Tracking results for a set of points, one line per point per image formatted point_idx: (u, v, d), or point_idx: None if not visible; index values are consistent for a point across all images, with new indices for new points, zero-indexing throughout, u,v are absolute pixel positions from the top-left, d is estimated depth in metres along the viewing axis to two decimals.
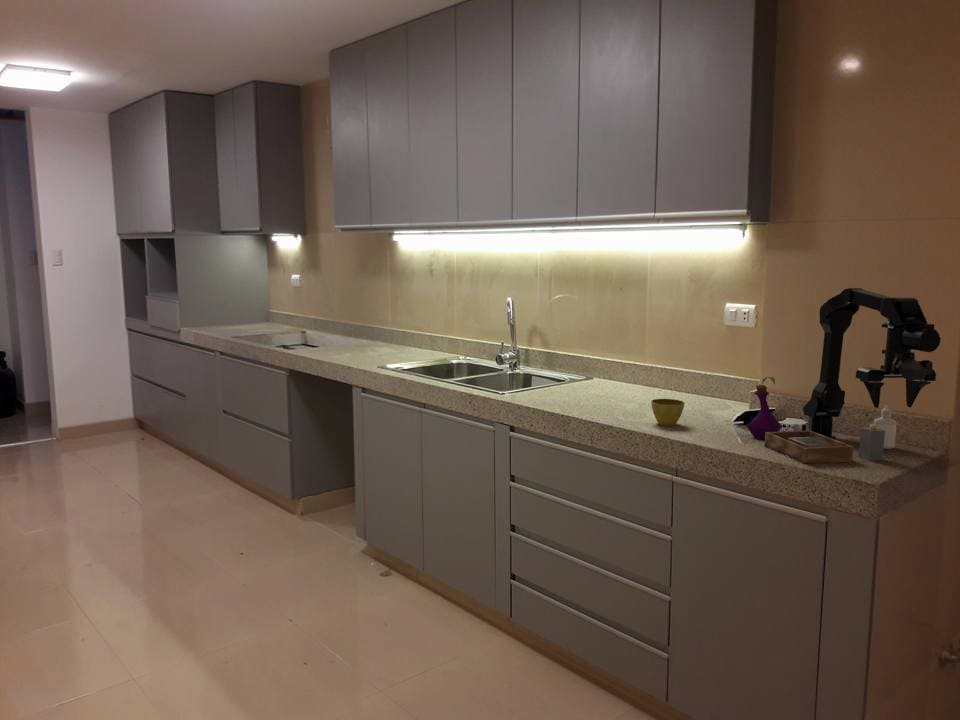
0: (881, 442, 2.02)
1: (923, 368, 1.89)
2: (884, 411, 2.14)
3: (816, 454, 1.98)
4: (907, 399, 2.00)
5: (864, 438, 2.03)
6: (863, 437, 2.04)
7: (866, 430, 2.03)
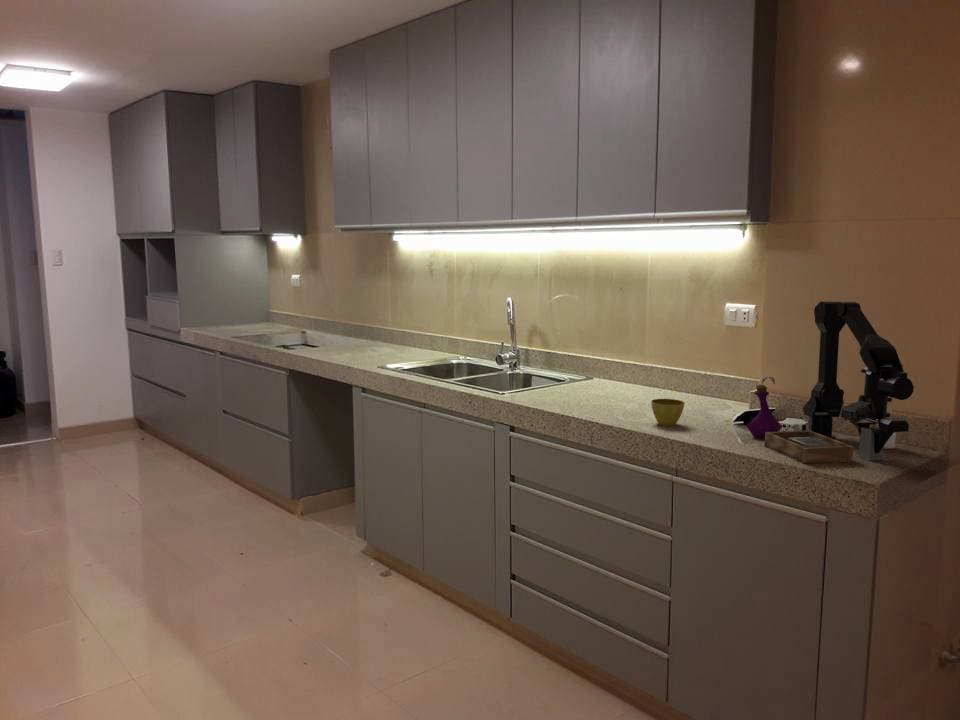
0: None
1: (851, 410, 1.99)
2: None
3: (816, 454, 1.98)
4: None
5: (864, 438, 2.03)
6: (863, 437, 2.04)
7: (866, 430, 2.03)
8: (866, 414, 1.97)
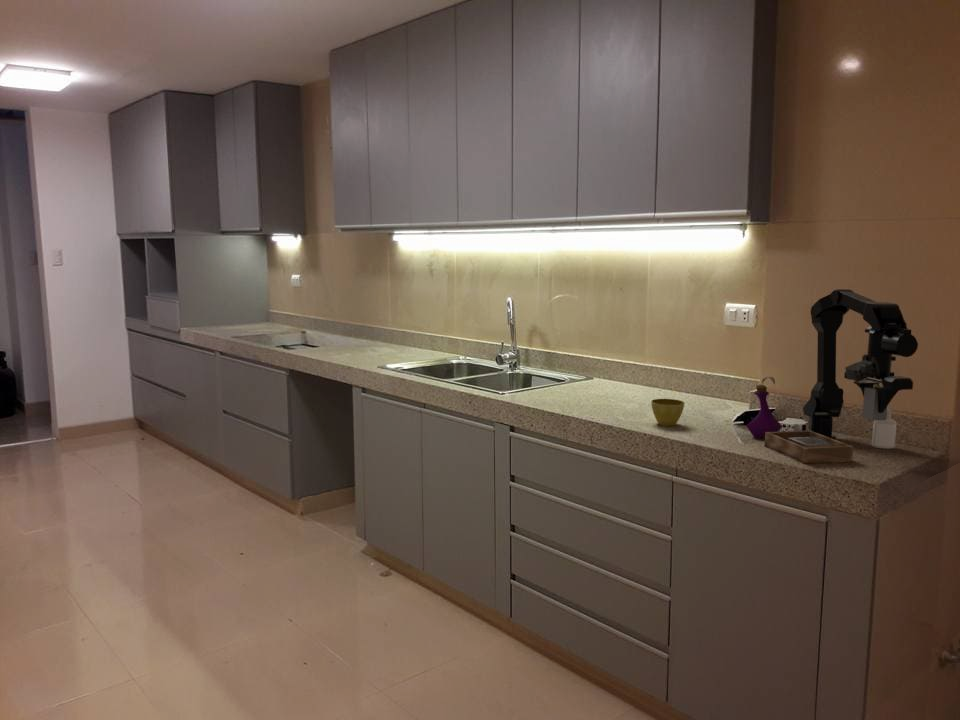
0: None
1: (854, 369, 1.98)
2: None
3: (816, 454, 1.98)
4: None
5: (868, 398, 2.02)
6: (866, 397, 2.02)
7: (870, 390, 2.01)
8: (870, 372, 1.95)
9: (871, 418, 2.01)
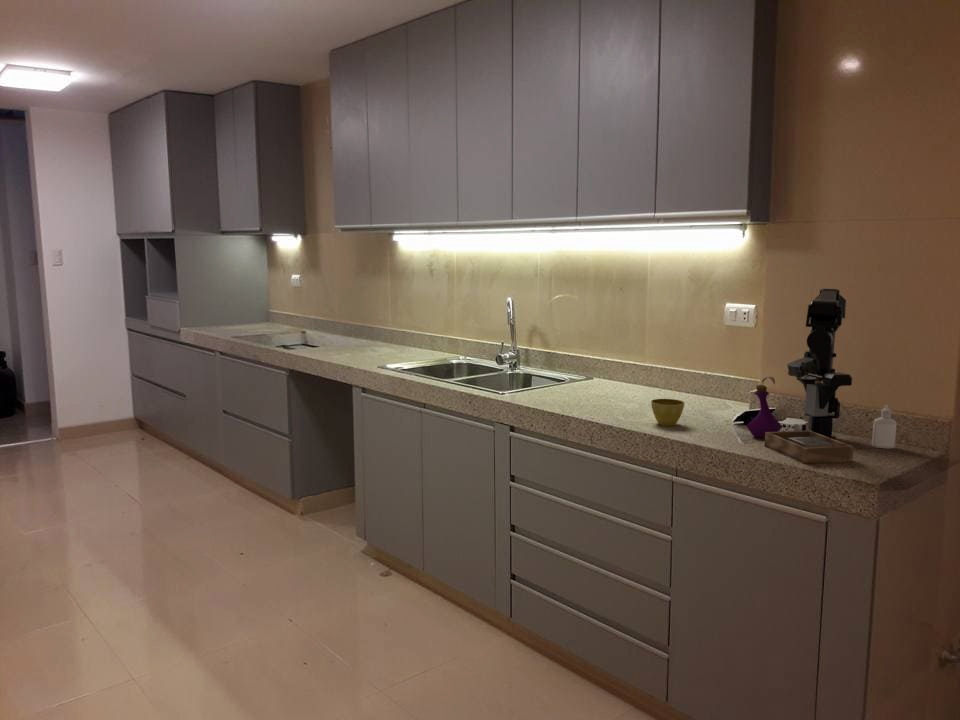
0: None
1: (795, 365, 2.00)
2: (884, 411, 2.14)
3: (816, 454, 1.98)
4: None
5: (810, 394, 2.04)
6: (808, 393, 2.05)
7: (811, 386, 2.04)
8: (810, 369, 1.98)
9: (813, 414, 2.03)
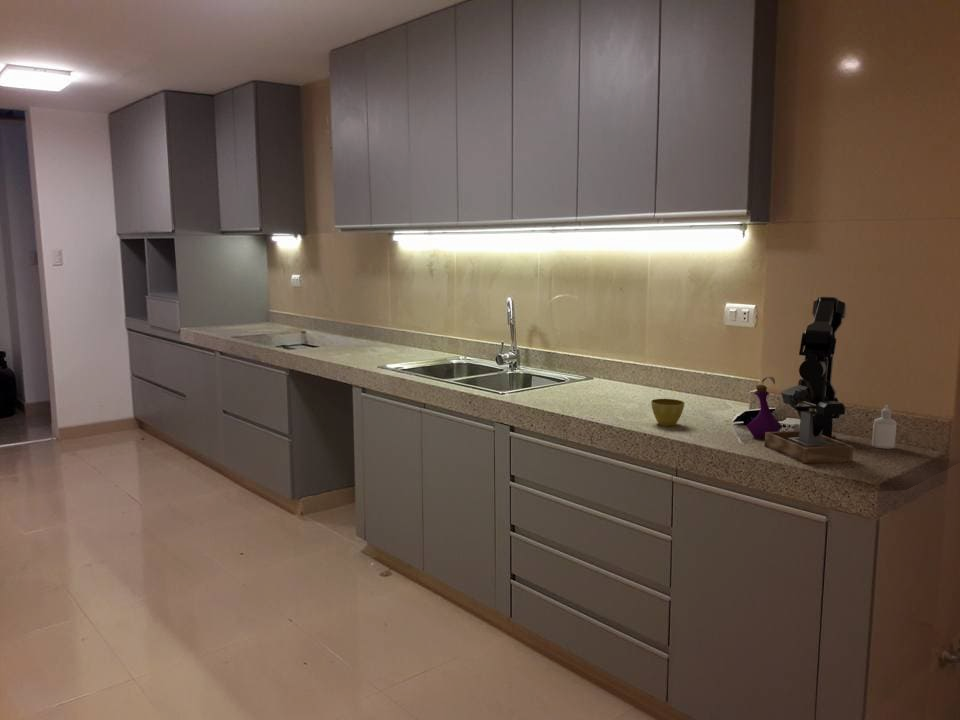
0: None
1: (789, 394, 2.02)
2: (884, 411, 2.14)
3: (816, 454, 1.98)
4: None
5: (804, 422, 2.06)
6: (802, 420, 2.06)
7: (805, 413, 2.05)
8: (804, 397, 1.99)
9: (806, 441, 2.05)
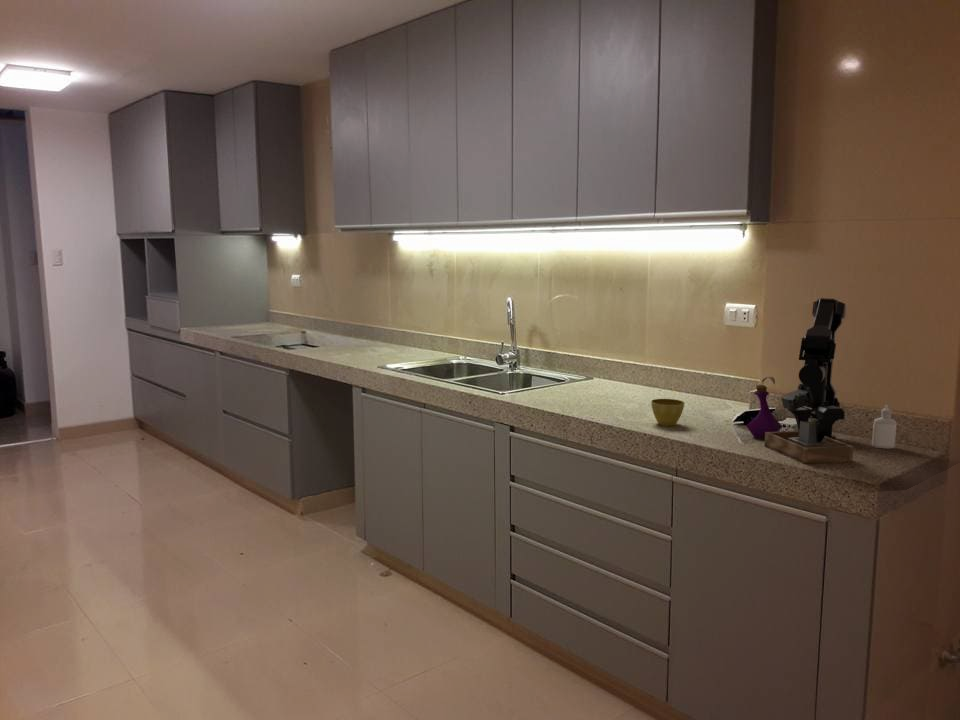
0: None
1: (789, 398, 2.02)
2: (884, 411, 2.14)
3: (816, 454, 1.98)
4: None
5: (803, 432, 2.06)
6: (801, 430, 2.07)
7: (804, 423, 2.05)
8: (803, 402, 2.00)
9: None
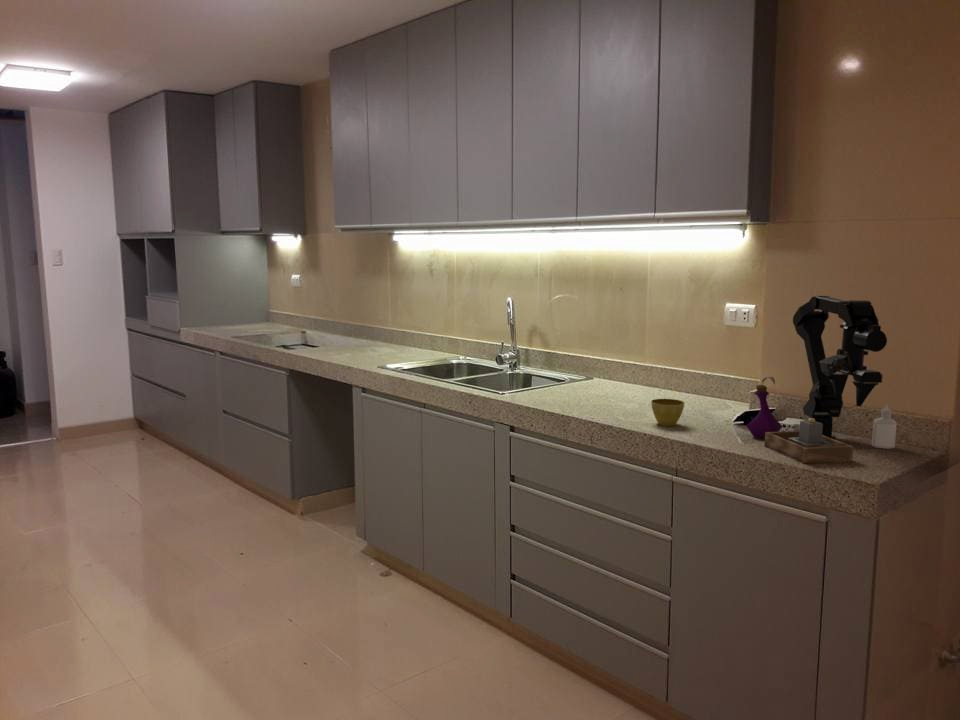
0: (819, 435, 2.05)
1: (827, 362, 2.09)
2: (884, 411, 2.14)
3: (816, 454, 1.98)
4: None
5: (803, 432, 2.06)
6: (801, 430, 2.07)
7: (804, 423, 2.05)
8: (841, 366, 2.06)
9: None
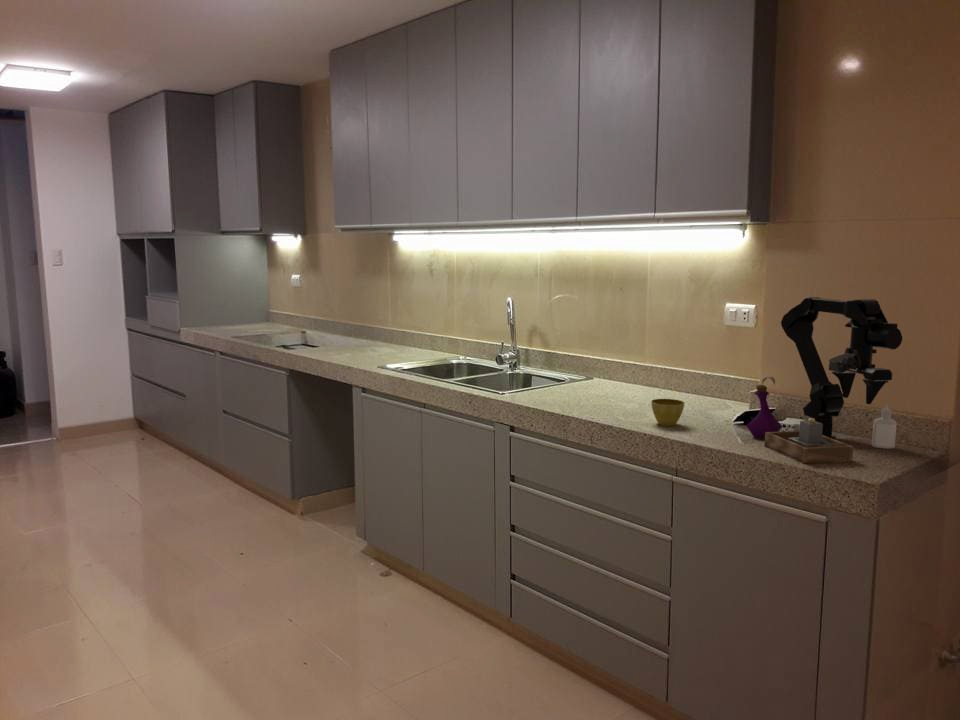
0: (819, 435, 2.05)
1: (837, 361, 2.10)
2: (884, 411, 2.14)
3: (816, 454, 1.98)
4: None
5: (803, 432, 2.06)
6: (801, 430, 2.07)
7: (804, 423, 2.05)
8: (852, 364, 2.08)
9: None
